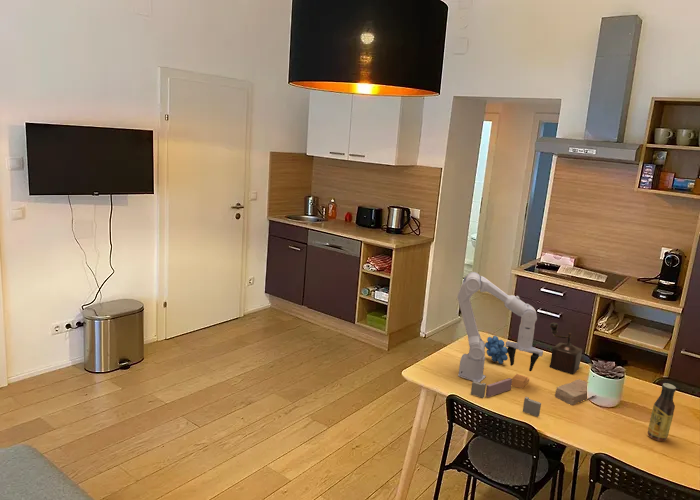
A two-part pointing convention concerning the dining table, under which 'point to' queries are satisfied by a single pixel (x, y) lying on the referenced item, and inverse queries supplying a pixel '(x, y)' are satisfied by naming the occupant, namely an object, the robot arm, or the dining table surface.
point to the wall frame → (529, 405)
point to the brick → (572, 392)
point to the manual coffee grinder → (565, 354)
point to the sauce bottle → (662, 414)
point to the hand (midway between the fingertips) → (521, 367)
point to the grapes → (496, 349)
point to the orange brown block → (519, 381)
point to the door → (498, 387)
